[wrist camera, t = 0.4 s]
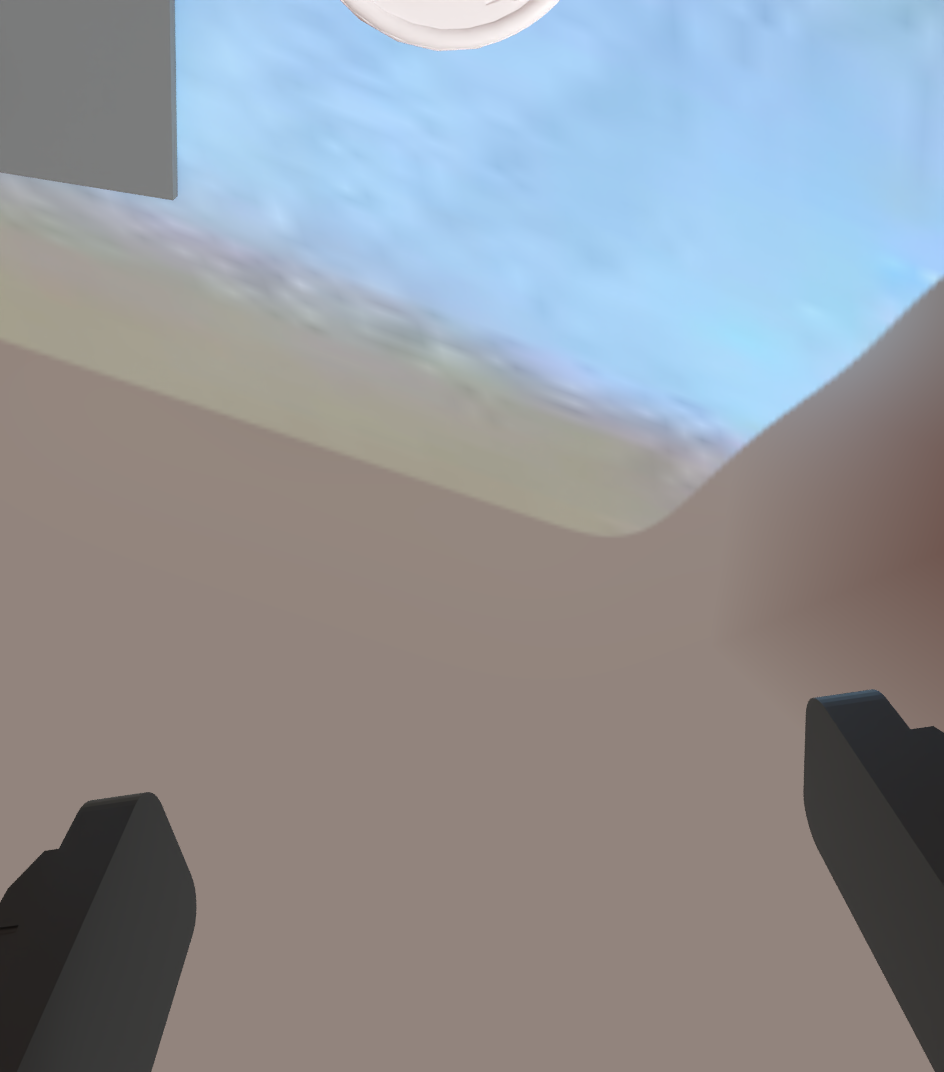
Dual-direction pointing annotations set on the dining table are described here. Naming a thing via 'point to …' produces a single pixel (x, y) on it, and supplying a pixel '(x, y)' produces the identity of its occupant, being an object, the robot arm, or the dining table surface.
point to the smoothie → (449, 20)
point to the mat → (90, 93)
